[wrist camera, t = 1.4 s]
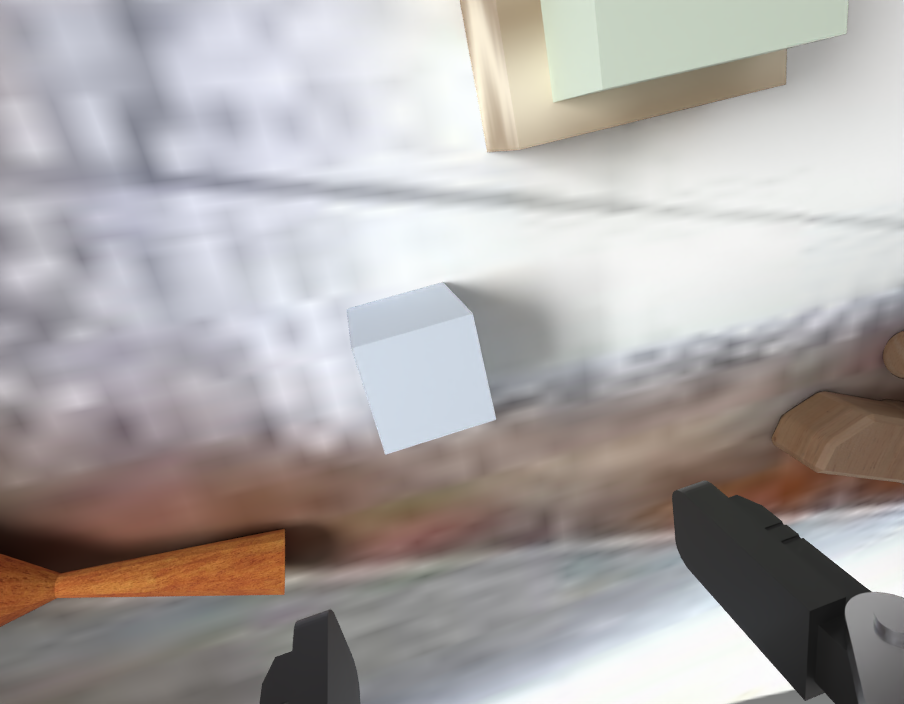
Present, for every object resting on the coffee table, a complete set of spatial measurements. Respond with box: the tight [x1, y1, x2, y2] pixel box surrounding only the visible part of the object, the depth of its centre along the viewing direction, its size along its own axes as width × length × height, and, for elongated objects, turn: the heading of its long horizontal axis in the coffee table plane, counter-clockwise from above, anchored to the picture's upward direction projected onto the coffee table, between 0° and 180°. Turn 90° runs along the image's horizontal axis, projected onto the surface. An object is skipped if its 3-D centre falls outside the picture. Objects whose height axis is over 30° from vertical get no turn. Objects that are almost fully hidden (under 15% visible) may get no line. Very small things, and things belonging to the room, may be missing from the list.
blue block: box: [347, 282, 496, 454], centre depth 24 cm, size 5×5×6 cm
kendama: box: [0, 529, 285, 627], centre depth 25 cm, size 6×6×20 cm
